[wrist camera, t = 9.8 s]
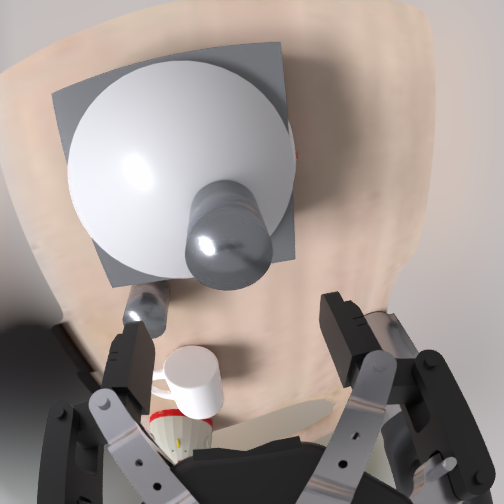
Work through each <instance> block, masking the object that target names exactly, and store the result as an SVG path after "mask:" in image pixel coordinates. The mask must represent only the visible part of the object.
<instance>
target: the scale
mask: <svg viewBox="0 0 504 504" xmlns="http://www.w3.org/2000/svg"><path fill="white" fill-rule="evenodd" d="M52 99H53V105H54V110H55V115H56V120H57V125H58V129H59V134H60V138H61V142H62V146H63V150H64V154H65V158H66V162H67V165H68V183H69V191H70V195H71V198H72V202H73V205H74V208H75V210H76V213H77V215H78V217H79V219H80V221H81V223H82V224H83V226H84V228H85V229H86V231H87V232H88V233H89V235H90V236H91V238H92V241H93V243H94V246H95V248H96V251H97V253H98V256H99V258H100V261H101V263H102V265H103V268H104V270H105V272H106V275H107V277H108V279H109V281H110V284H111V286H112V288H115V287H121V286H128V285H135V284H142V283H149V282H155V281H162V280H169V279H175V278H194V276H193V275H192V274H191V273H190V271H189V269H188V267H187V264H186V261H185V247H186V239H187V231H188V223H189V216H190V209H191V204H192V201H193V199H194V197H195V195H196V194H197V193H198V191H199V190H200V189H201V188H203V187H204V186H206V185H207V184H209V183H212V182H214V181H219V180H231V181H235V182H238V183H241V184H242V185H244V186H246V187H247V188H248V189H249V190H250V191H251V192H252V194H253V195H254V197H255V199H256V201H257V204H258V207H259V209H260V212H261V215H262V217H263V220H264V222H265V225H266V228H267V230H268V233H269V236H270V238H271V241H272V245H273V258H272V262H271V263H276V262H282V261H288V260H294V259H295V233H294V209H293V189H292V188H293V181H294V178H295V172H296V158H298V152H297V151H296V150H295V145H294V138H293V133H292V129H291V126H290V123H289V120H288V115H287V103H286V92H285V81H284V71H283V62H282V52H281V44H280V42H269V43H252V44H240V45H231V46H222V47H214V48H207V49H201V50H195V51H189V52H184V53H178V54H173V55H169V56H164V57H160V58H155V59H151V60H147V61H143V62H139V63H136V64H132V65H129V66H125V67H122V68H119V69H115V70H112V71H109V72H106V73H103V74H100V75H97V76H94V77H91V78H89V79H86V80H83V81H81V82H78V83H76V84H73V85H71V86H68V87H66V88H63V89H61V90H59V91H56V92H54V93H52Z"/></svg>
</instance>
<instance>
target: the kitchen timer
mask: <svg viewBox="0 0 504 504" xmlns="http://www.w3.org/2000/svg"><path fill="white" fill-rule="evenodd" d="M150 432H151V433H150V435H151V436H152V438H153V439H154V440H155V442H156V443H157V444H158V445H159V447H160V448H161V449H162V450H163V451H164V453H165V454H166V455H167V456H168V457H169V458H170V459H171V460H172V461H173V462H174V463H175V464H177V463H178V462H179V461H181V460H183V459H185V458H187V457H190V456H193V449H210V448H211V442H212V422H211V419H209V418H206V419H193V418H190V417H188V416H186V415H184V414H183V413H182V412H181V411H180V410H179V409H170V410H162V411H159V412H156V413H154V414H152V416H151V417H150Z"/></svg>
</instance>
